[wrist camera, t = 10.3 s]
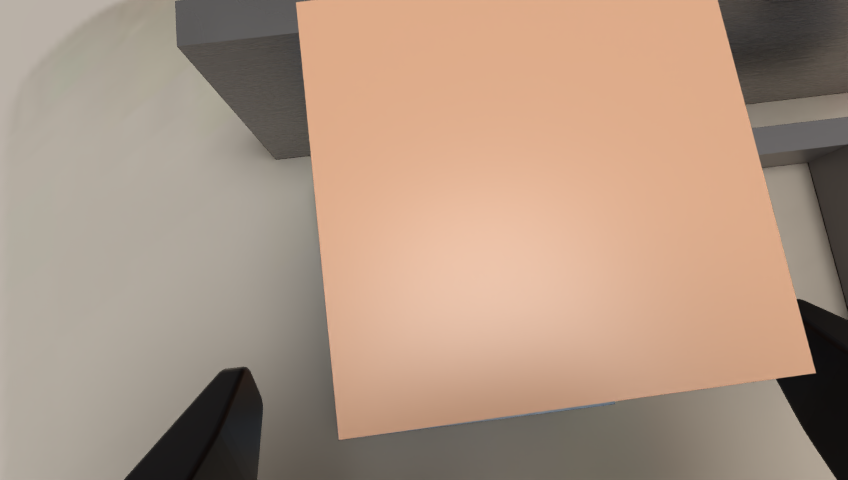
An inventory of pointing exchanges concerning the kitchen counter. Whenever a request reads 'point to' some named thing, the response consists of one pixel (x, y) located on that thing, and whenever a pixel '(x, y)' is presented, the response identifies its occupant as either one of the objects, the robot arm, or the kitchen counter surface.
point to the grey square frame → (816, 172)
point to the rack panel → (284, 85)
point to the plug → (537, 208)
